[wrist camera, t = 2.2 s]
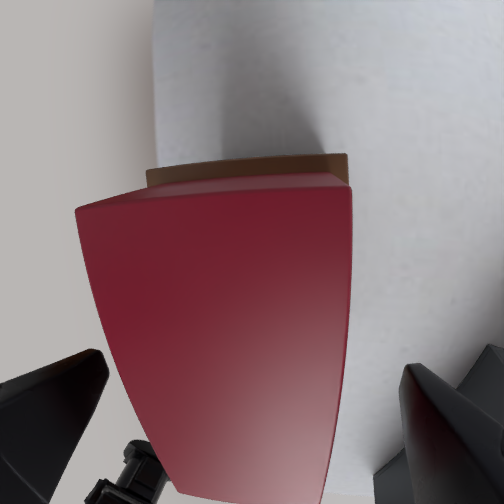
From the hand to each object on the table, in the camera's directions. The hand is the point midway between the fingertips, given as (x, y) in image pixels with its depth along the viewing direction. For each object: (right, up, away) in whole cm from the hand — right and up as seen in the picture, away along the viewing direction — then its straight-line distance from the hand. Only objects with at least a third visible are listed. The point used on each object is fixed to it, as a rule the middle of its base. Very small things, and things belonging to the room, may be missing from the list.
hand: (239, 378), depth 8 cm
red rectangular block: (0, +1, +2) cm, 2 cm away
